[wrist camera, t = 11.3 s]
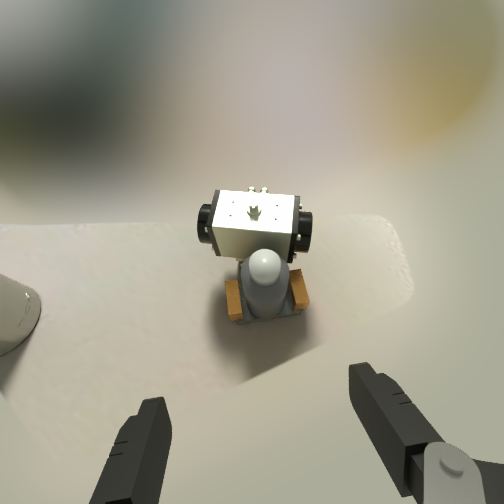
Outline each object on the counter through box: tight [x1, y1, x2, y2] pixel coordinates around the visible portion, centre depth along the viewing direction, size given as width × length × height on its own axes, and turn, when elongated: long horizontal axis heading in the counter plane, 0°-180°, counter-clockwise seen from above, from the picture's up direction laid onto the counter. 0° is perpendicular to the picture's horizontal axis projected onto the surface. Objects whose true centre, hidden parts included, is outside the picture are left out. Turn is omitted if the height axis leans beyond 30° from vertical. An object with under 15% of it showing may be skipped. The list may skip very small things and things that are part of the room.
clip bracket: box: [225, 269, 310, 324], centre depth 31 cm, size 9×5×4 cm, turn 99°
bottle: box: [241, 249, 289, 319], centre depth 27 cm, size 5×5×10 cm
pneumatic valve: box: [197, 187, 312, 267], centre depth 30 cm, size 6×12×12 cm, turn 82°
